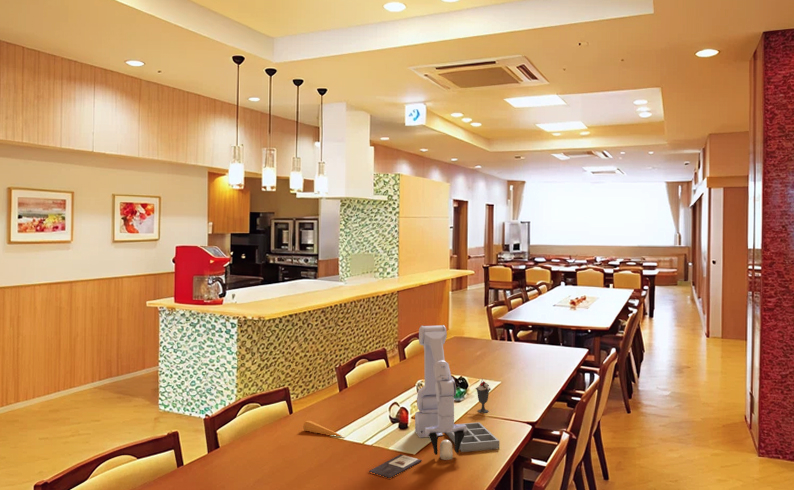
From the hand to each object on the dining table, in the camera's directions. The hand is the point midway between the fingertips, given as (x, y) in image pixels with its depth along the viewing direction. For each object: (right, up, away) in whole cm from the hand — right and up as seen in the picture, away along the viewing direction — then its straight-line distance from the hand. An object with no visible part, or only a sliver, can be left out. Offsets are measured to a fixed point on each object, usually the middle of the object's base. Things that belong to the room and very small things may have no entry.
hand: (446, 452), depth 206 cm
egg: (0, -2, 0) cm, 2 cm away
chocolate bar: (-18, -3, -8) cm, 20 cm away
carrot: (-46, -2, +25) cm, 53 cm away
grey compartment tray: (+11, -1, +17) cm, 20 cm away
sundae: (+21, -1, +52) cm, 56 cm away
